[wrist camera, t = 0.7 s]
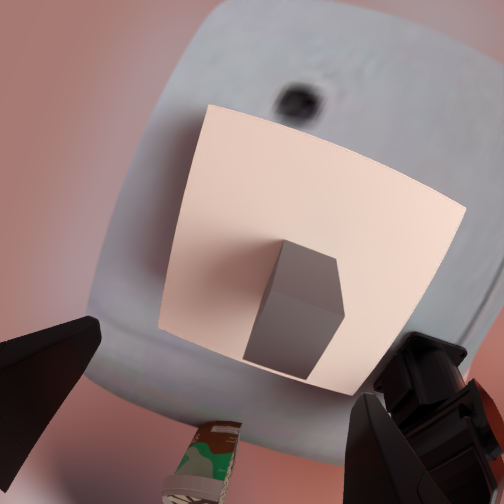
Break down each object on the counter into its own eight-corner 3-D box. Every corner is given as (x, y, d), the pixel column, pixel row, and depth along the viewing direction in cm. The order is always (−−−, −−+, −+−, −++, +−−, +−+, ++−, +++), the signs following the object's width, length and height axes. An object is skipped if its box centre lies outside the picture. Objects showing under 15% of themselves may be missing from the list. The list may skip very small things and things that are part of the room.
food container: (184, 400, 28) (147, 477, 19) (243, 415, 27) (218, 500, 18) (189, 453, 33) (164, 513, 24) (234, 465, 32) (216, 528, 23)
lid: (461, 205, 11) (522, 243, 7) (352, 389, 16) (355, 458, 12) (212, 105, 12) (158, 92, 7) (160, 322, 17) (118, 379, 12)
